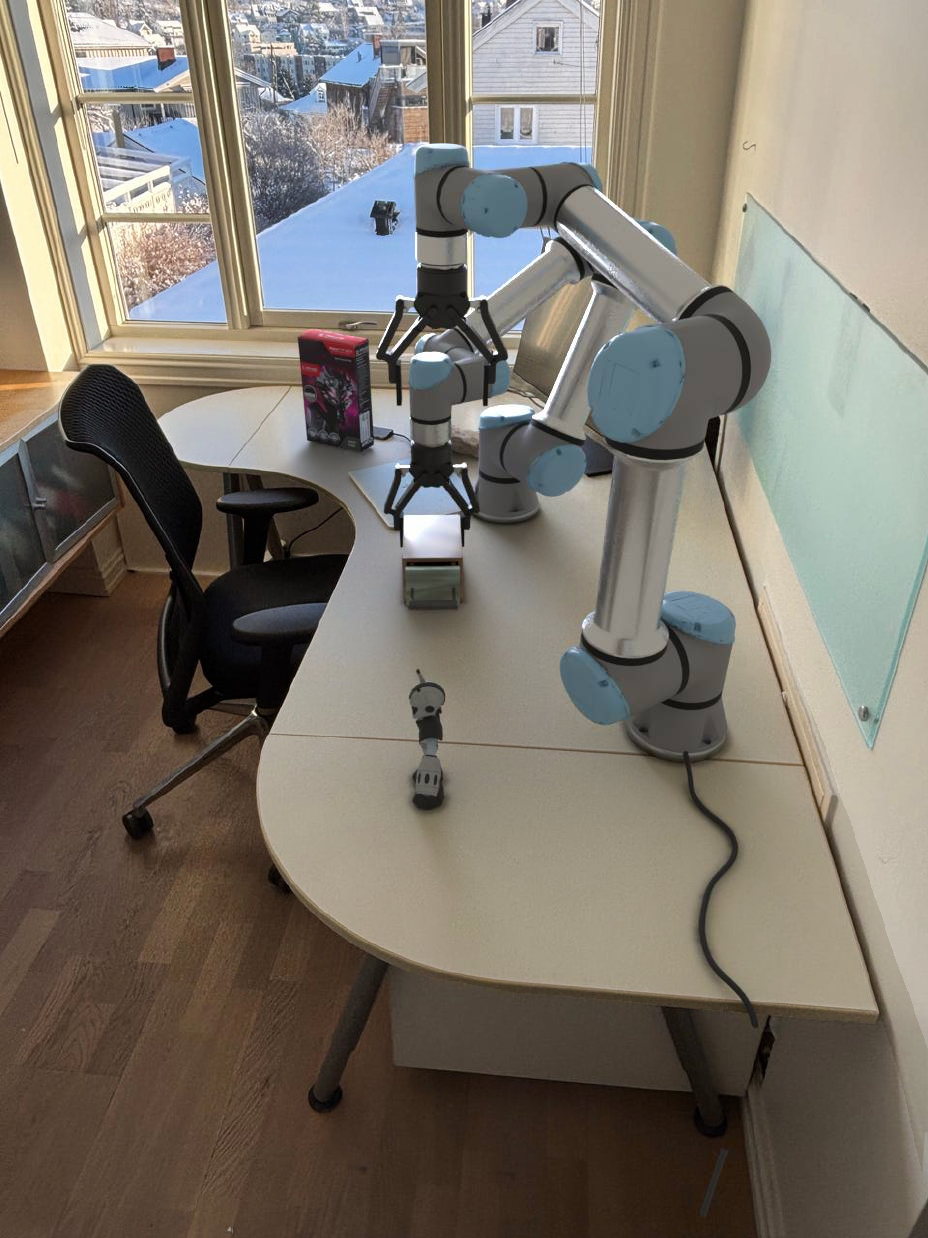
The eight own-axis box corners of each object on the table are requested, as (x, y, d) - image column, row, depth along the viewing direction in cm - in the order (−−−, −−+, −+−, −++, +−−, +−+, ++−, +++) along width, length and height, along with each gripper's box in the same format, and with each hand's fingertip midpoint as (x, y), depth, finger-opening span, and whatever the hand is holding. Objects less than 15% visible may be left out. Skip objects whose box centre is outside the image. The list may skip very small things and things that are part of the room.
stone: (396, 441, 228) (401, 417, 225) (415, 432, 241) (420, 409, 239) (476, 465, 224) (482, 442, 222) (491, 455, 237) (496, 432, 235)
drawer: (460, 624, 165) (461, 587, 161) (405, 625, 165) (404, 588, 161) (457, 562, 184) (457, 527, 179) (407, 562, 183) (406, 528, 179)
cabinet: (462, 602, 173) (462, 557, 168) (403, 602, 173) (402, 558, 167) (459, 557, 187) (459, 514, 182) (405, 557, 187) (403, 515, 181)
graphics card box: (304, 441, 235) (294, 334, 220) (320, 432, 240) (311, 327, 225) (361, 455, 228) (354, 345, 213) (376, 445, 233) (371, 337, 218)
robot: (448, 840, 124) (447, 726, 113) (411, 841, 124) (407, 727, 112) (443, 742, 140) (442, 634, 129) (411, 743, 140) (408, 635, 129)
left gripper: (493, 431, 173) (490, 534, 185) (368, 431, 172) (373, 535, 184) (496, 447, 167) (492, 552, 179) (365, 448, 166) (371, 553, 178)
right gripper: (525, 257, 138) (519, 394, 150) (358, 256, 137) (365, 394, 149) (529, 269, 132) (522, 411, 143) (353, 268, 131) (361, 411, 143)
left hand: (432, 543), depth 182 cm, fingers closed on cabinet, 11 cm apart
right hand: (442, 403), depth 146 cm, fingers open, 13 cm apart
